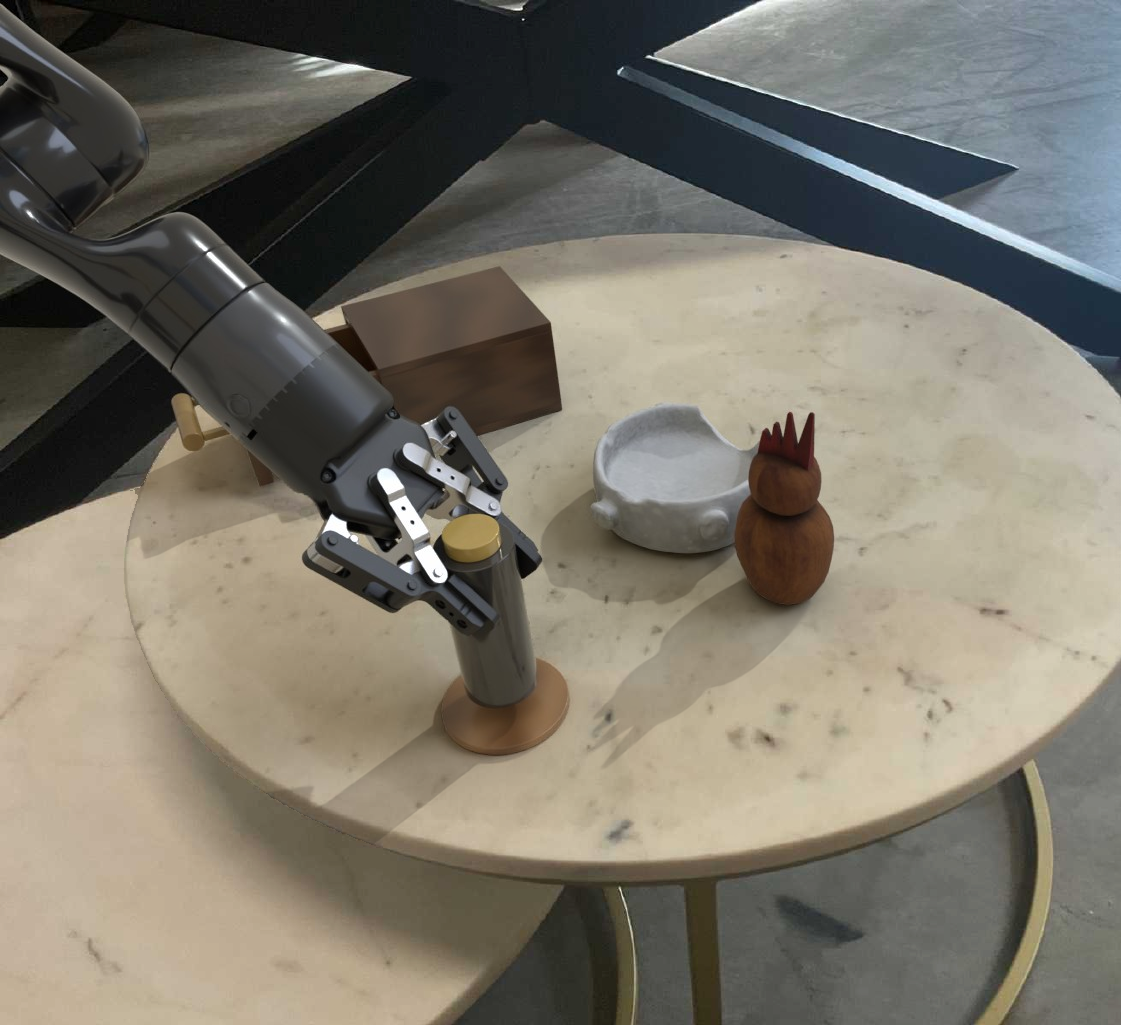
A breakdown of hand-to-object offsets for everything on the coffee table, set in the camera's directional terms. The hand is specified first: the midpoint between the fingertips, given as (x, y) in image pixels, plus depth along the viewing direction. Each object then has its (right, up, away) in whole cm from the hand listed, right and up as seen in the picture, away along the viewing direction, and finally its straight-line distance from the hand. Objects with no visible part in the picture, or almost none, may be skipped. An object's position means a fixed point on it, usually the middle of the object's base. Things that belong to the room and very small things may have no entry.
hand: (510, 598), depth 65 cm
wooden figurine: (+17, 0, +14) cm, 22 cm away
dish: (+10, +5, +22) cm, 25 cm away
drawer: (-22, +11, +31) cm, 40 cm away
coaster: (-1, -7, +6) cm, 10 cm away
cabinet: (-10, +15, +36) cm, 40 cm away
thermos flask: (-1, -6, +5) cm, 8 cm away
